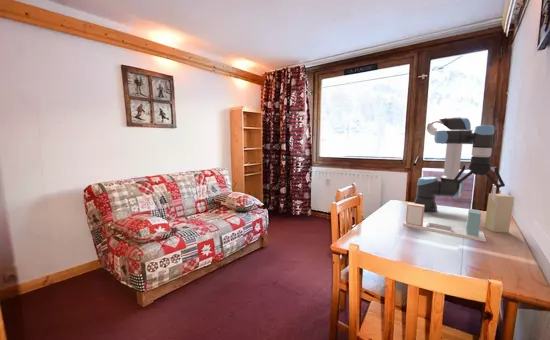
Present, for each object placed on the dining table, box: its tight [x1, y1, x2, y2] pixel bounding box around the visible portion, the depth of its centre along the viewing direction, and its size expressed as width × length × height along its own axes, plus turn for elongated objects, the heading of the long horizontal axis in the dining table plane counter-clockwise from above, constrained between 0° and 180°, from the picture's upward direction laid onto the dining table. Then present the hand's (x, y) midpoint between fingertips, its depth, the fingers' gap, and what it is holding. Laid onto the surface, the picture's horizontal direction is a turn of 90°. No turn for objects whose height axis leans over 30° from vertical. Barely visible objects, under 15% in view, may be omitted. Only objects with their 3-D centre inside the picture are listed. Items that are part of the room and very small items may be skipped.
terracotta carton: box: [405, 202, 425, 226], centre depth 140 cm, size 5×8×12 cm, turn 54°
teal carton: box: [465, 208, 482, 237], centre depth 128 cm, size 5×8×12 cm, turn 144°
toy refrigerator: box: [484, 193, 515, 233], centre depth 134 cm, size 8×7×21 cm
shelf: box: [402, 220, 487, 243], centre depth 136 cm, size 16×36×4 cm, turn 54°
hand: (475, 197), depth 127 cm, fingers open, 13 cm apart
